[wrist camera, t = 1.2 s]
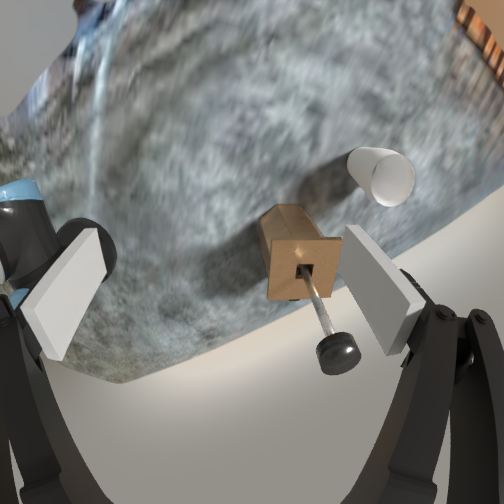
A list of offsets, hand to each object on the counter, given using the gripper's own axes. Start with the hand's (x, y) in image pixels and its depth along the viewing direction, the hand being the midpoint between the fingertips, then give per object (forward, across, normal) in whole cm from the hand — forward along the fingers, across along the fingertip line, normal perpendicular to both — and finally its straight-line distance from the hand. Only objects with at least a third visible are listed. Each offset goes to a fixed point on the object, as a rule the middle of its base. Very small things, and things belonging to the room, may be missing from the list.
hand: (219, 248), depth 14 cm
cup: (+37, +26, -2) cm, 45 cm away
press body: (+37, +12, -17) cm, 42 cm away
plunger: (+25, +12, -16) cm, 31 cm away
